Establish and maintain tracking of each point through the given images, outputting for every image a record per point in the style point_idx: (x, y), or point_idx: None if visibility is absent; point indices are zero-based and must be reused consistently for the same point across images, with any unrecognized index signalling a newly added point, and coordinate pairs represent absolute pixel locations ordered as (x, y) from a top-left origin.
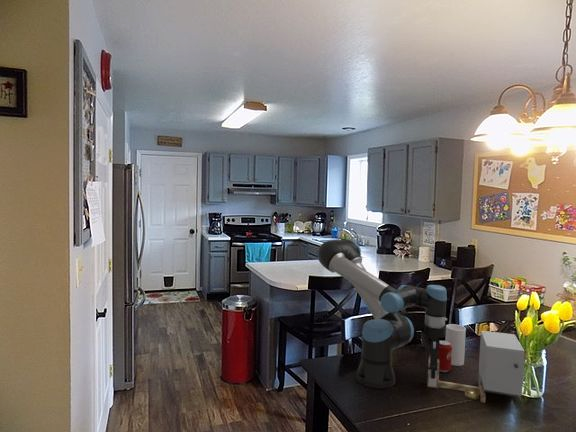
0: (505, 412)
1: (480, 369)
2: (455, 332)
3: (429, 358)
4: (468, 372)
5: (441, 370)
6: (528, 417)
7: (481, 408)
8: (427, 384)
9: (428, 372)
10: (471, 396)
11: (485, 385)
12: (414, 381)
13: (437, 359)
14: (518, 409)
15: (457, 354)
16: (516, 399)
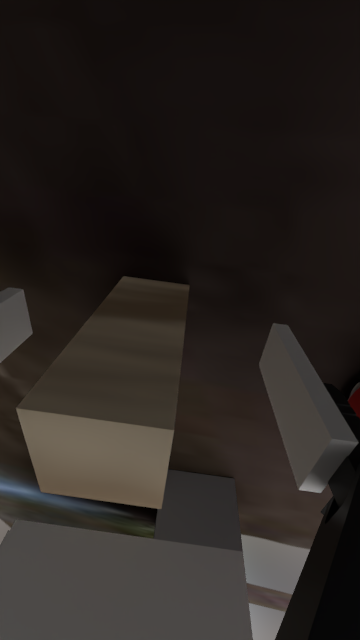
0: (32, 484)
1: (177, 580)
2: None
3: (152, 436)
4: None
5: (356, 389)
6: (36, 513)
7: (16, 441)
8: (119, 281)
9: (84, 326)
10: None
11: (2, 546)
12: (180, 190)
13: (152, 497)
14: (72, 510)
15: None
16: (136, 522)
